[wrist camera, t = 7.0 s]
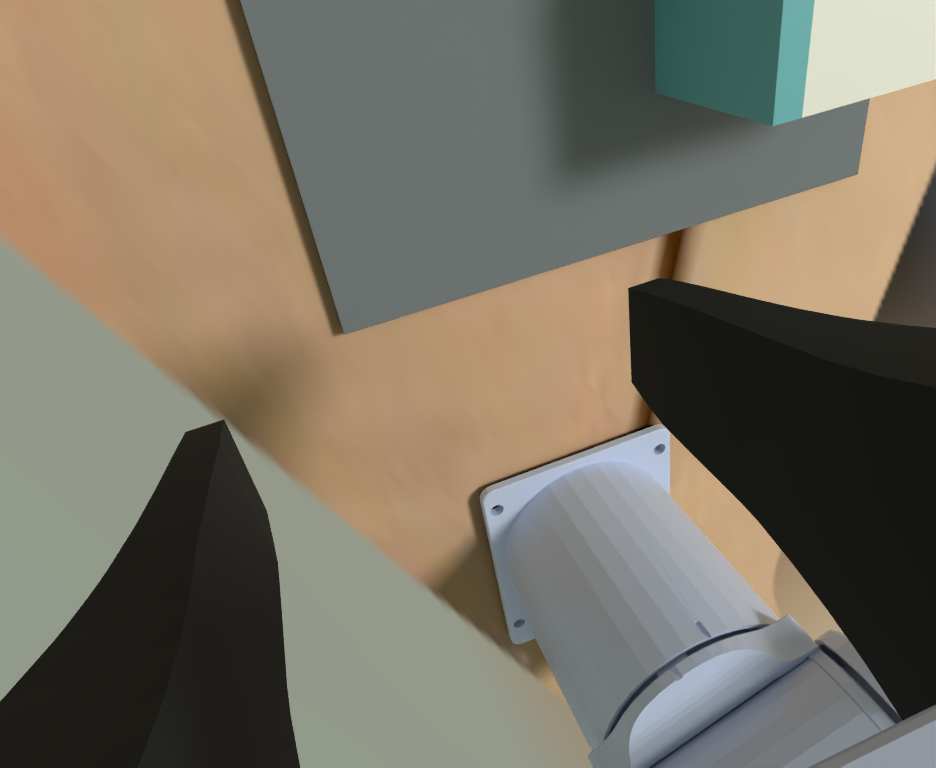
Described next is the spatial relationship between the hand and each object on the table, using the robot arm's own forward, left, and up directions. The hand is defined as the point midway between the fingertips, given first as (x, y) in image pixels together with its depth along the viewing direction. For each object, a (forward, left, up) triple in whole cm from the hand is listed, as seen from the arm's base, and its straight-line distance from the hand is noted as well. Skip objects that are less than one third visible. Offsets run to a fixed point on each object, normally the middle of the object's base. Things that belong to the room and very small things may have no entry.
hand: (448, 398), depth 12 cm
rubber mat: (+4, -8, -9) cm, 13 cm away
